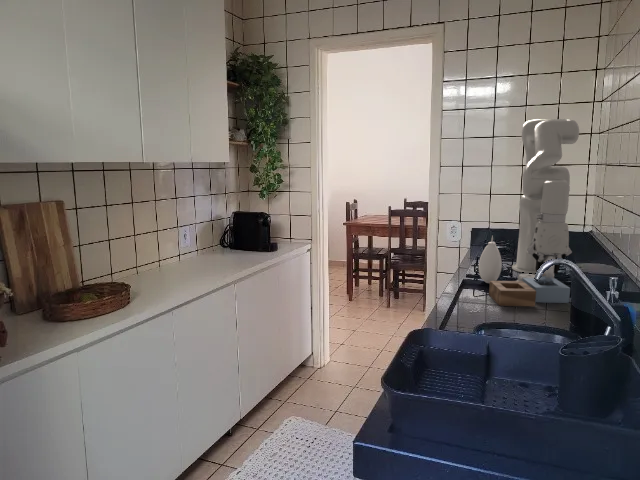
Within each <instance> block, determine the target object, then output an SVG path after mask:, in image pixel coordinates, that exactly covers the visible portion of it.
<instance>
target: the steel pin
mask: <svg viewBox="0 0 640 480" xmlns="http://www.w3.org/2000/svg"><path fill="white" fill-rule="evenodd" d="M551 259H556V254H544V256H543V259H542V262H543V263H544V262H546V261H548V260H551ZM554 271H555V265H553V266H551V267H550V268H549V269H548V270H546V271H545V272H544V274H543V275H542V277H541V278H540V279H539V285H548V286H553V281H554V279H555V273H554Z"/></svg>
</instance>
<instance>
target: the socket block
mask: <svg viewBox="0 0 640 480" xmlns="http://www.w3.org/2000/svg"><path fill="white" fill-rule="evenodd" d="M522 281H523V282H524V283H526V284H527V285H528V286H530V287H531V288H533V289H534V290H535V291H536V299H535V303H553V304H554V303H557V304H559V303H562V304H565V303H566V304H569V303H570V295H571V287H569V286H568V285H566V284H565V283H563V282H561V281H560V280H558V279H557V278H554V281H553V286H548V285H539V280H538V281H536V280H535V279H534V278H523V280H522Z"/></svg>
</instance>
